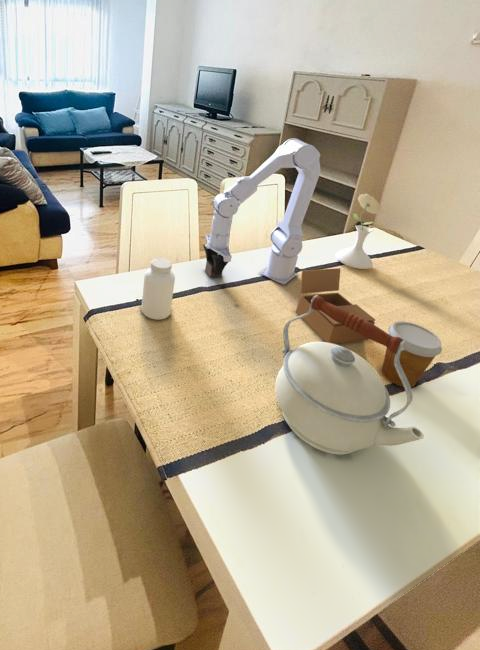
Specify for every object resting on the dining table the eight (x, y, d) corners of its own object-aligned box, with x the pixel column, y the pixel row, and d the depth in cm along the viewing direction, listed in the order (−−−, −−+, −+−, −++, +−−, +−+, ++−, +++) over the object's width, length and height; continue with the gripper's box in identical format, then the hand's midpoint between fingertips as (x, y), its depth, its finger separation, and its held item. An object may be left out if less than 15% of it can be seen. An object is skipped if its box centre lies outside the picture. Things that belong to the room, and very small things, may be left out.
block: (204, 271, 125) (206, 260, 124) (216, 270, 126) (218, 259, 124) (209, 277, 121) (211, 266, 120) (221, 276, 122) (223, 266, 121)
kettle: (244, 403, 78) (268, 300, 68) (293, 365, 88) (321, 272, 79) (377, 517, 59) (436, 398, 50) (420, 453, 70) (476, 344, 60)
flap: (301, 293, 105) (300, 293, 105) (338, 290, 107) (337, 290, 108) (302, 271, 104) (301, 270, 104) (340, 268, 106) (339, 268, 107)
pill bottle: (174, 307, 106) (180, 260, 100) (164, 324, 99) (171, 274, 94) (147, 299, 109) (152, 252, 103) (136, 314, 102) (140, 266, 96)
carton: (295, 312, 107) (300, 293, 105) (332, 308, 110) (338, 289, 107) (327, 344, 95) (334, 324, 93) (368, 339, 98) (376, 319, 96)
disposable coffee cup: (414, 367, 90) (433, 326, 85) (430, 399, 81) (452, 355, 77) (368, 356, 92) (384, 315, 88) (379, 386, 84) (397, 342, 79)
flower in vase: (378, 273, 130) (403, 204, 121) (345, 271, 130) (366, 202, 120) (356, 254, 142) (377, 190, 133) (326, 252, 142) (344, 189, 133)
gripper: (198, 222, 124) (193, 259, 129) (218, 243, 111) (211, 283, 116) (219, 222, 125) (213, 258, 130) (240, 242, 112) (233, 282, 117)
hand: (213, 270), depth 123 cm, fingers open, 5 cm apart
